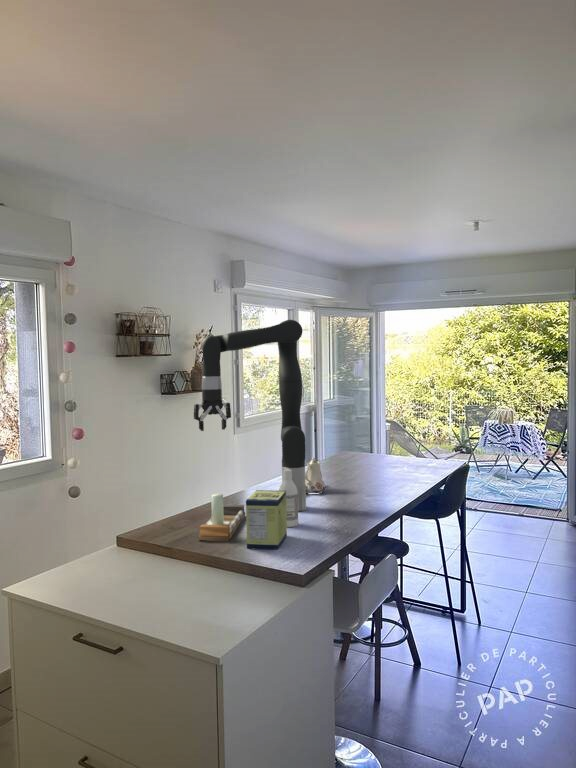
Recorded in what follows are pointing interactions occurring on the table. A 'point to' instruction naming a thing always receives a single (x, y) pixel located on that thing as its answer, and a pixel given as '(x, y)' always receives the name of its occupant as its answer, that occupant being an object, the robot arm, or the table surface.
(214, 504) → the keeper
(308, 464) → the chinaware
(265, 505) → the protein box
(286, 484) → the bath foam
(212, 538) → the rail
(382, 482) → the table surface
